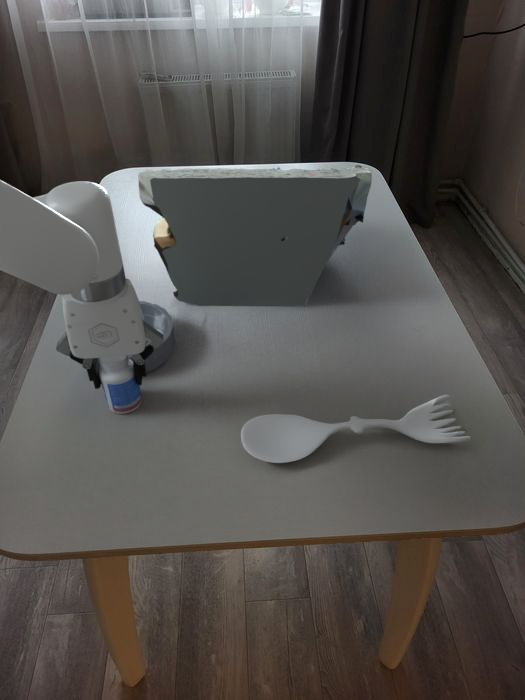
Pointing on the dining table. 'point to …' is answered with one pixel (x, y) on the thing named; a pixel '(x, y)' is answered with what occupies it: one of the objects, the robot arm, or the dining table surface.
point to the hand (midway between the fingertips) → (119, 379)
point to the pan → (164, 325)
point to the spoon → (307, 435)
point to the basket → (251, 229)
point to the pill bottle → (119, 384)
